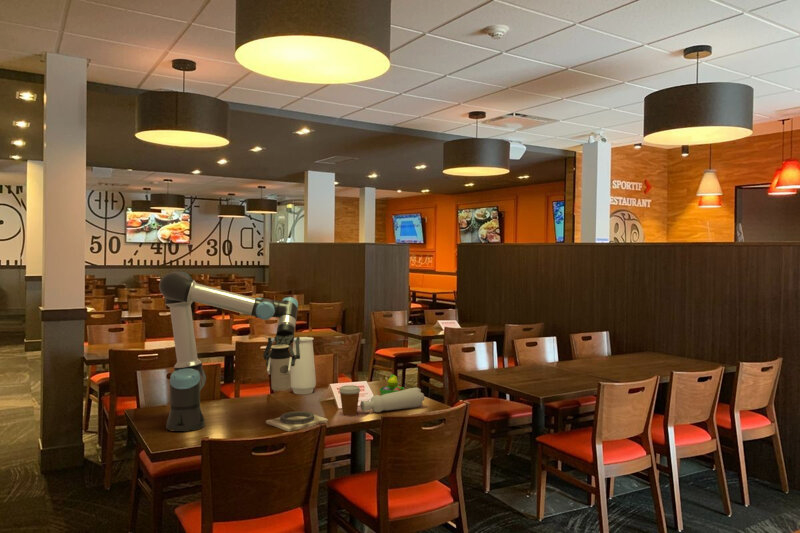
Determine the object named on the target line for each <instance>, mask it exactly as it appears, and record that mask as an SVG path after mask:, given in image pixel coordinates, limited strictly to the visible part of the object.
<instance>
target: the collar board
mask: <svg viewBox="0 0 800 533" xmlns="http://www.w3.org/2000/svg"><path fill="white" fill-rule="evenodd" d="M327 421H328V422H329V419H328V418H326V417H322V416H319V415H317V414H314V413H313V412H309V411H303V410H302V411H301V410H299V411H289V412H285V413H282V414H281V415H279V417H276V418H272V419H267V420H265V424H267V425H270V426H272V427H274V428H278V429H280V430H283V431H286V432H289V433H290V432H294V431H298V430H301V429H305V428H310V427H313V425H314V426H317V425H316V424H318V423H322V424H324V423H323V422H326V423H328V422H327ZM318 425H319V424H318Z"/></svg>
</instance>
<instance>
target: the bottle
mask: <svg viewBox="0 0 800 533" xmlns="http://www.w3.org/2000/svg"><path fill="white" fill-rule="evenodd" d="M421 391H422V389H421V388H419V387H412V388H411V387H410V388H406V389H404V390H402V391H397V392H393V393H388V394H384V395H382V396H381V395H378V394H375V395H373V396H372V397H371V398H370V400H369V399H367V400H362V401H360V403H359V404H360V409H361V411H362V412H366V411H371V410H372V412H373V413H377V412H378V413H381V412H382V411H394V410H402V409H403V410H404V409H414V408H419V407H421V406H422V405H424V404H423V401H425V394H424V393H423V392H421Z"/></svg>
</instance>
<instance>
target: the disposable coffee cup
mask: <svg viewBox="0 0 800 533" xmlns="http://www.w3.org/2000/svg"><path fill="white" fill-rule="evenodd" d="M338 392H339V394H340V402H341V409H342V410H341V411H342V415H343V414H344V415H343V416H346V415H352V416H356V415H357V414H358V406H359V399H360V398H359V397H360V392H361V388H360V386H358V385H353V384H351V385H349V384H348V385H342V386H340V388H339V390H338ZM355 414H356V415H355Z"/></svg>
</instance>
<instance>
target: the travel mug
mask: <svg viewBox="0 0 800 533" xmlns="http://www.w3.org/2000/svg"><path fill="white" fill-rule="evenodd" d="M288 347H289V345H275V344H274V345H273V344H272V346H271V350H272V352H271V372H270V381H271V384H270V385H271V390H273V391H278V392H280V391H282V392H283V391H287V390H290V389H292V388H291V374H289V372H288V367H289V360H290V357H291V353H290V351H289V348H288Z"/></svg>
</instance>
